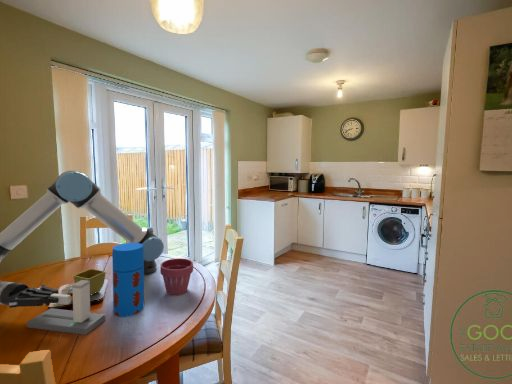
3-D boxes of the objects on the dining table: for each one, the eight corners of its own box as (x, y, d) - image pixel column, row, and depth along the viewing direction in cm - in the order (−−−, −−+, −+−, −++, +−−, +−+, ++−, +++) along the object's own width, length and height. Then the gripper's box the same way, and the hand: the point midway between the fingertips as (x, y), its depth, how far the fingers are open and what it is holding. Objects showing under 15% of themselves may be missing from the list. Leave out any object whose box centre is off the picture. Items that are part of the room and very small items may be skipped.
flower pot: (106, 291, 119) (106, 271, 118) (88, 299, 111) (88, 278, 110) (91, 287, 122) (91, 268, 121) (73, 296, 114) (72, 275, 113)
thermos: (123, 320, 97) (122, 252, 95) (107, 311, 103) (106, 247, 100) (149, 307, 106) (149, 245, 104) (133, 299, 112) (132, 241, 110)
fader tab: (73, 321, 91) (71, 284, 90) (82, 315, 95) (81, 279, 94) (81, 322, 91) (80, 285, 90) (90, 316, 95) (89, 280, 94)
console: (27, 327, 91) (27, 321, 91) (51, 313, 100) (51, 307, 100) (85, 334, 88) (85, 328, 88) (105, 319, 97) (104, 314, 97)
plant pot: (196, 294, 118) (197, 266, 117) (163, 301, 111) (163, 271, 110) (188, 282, 131) (188, 256, 129) (157, 287, 124) (157, 260, 123)
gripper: (27, 295, 103) (83, 301, 100) (-10, 313, 90) (52, 320, 87) (27, 276, 102) (83, 281, 99) (-12, 291, 90) (51, 298, 87)
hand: (68, 299), depth 93 cm, fingers closed
